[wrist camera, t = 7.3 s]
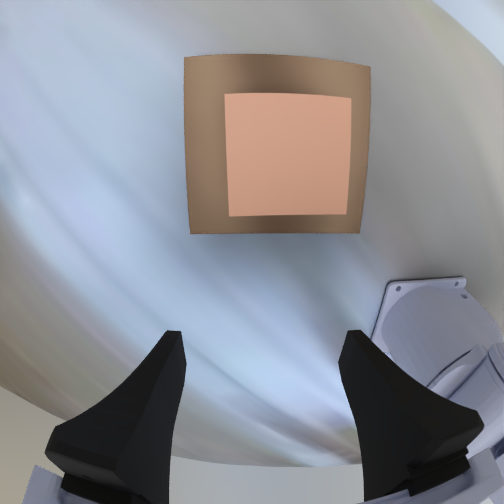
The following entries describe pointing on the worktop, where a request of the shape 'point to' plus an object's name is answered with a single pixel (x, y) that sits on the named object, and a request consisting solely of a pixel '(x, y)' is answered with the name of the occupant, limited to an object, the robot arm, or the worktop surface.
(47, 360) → the worktop surface
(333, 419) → the worktop surface
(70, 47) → the worktop surface
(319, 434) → the worktop surface
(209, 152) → the walnut block
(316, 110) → the terracotta cube
